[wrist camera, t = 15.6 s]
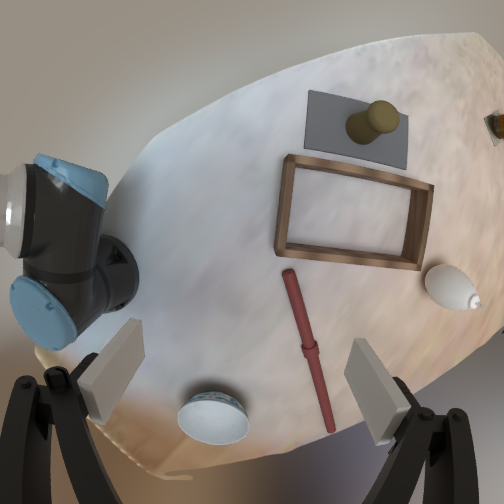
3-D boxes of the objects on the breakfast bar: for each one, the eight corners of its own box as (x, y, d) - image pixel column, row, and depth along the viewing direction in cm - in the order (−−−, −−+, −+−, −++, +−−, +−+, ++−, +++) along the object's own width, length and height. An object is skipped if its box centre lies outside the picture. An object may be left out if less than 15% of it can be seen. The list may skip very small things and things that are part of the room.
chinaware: (193, 368, 53) (185, 391, 46) (260, 388, 54) (260, 412, 47) (178, 410, 56) (172, 432, 49) (237, 427, 57) (236, 450, 50)
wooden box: (273, 248, 47) (276, 256, 42) (283, 158, 44) (288, 153, 38) (404, 262, 48) (420, 271, 42) (416, 185, 45) (434, 185, 39)
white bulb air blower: (412, 269, 48) (467, 301, 31) (439, 252, 47) (497, 276, 30) (420, 300, 50) (470, 338, 32) (446, 282, 49) (498, 313, 31)
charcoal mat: (303, 148, 44) (304, 147, 43) (308, 90, 41) (309, 89, 41) (404, 169, 44) (406, 169, 43) (406, 116, 42) (408, 115, 41)
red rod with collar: (278, 271, 49) (280, 276, 46) (295, 266, 48) (298, 271, 45) (324, 428, 58) (326, 436, 55) (336, 424, 58) (338, 432, 55)
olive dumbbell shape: (354, 106, 41) (379, 87, 30) (381, 126, 42) (411, 113, 31) (339, 131, 42) (362, 116, 32) (366, 151, 43) (396, 142, 32)
